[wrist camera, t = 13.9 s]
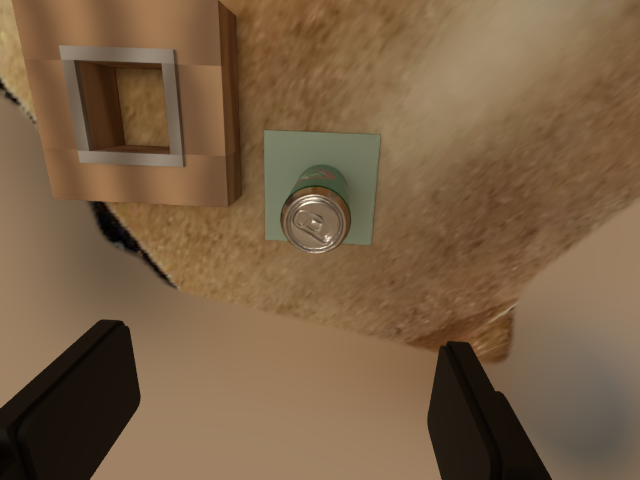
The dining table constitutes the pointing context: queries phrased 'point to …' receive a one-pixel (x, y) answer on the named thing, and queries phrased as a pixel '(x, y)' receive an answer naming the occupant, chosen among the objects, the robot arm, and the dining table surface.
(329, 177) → the soda can
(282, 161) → the mat
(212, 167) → the housing
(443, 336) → the dining table surface
